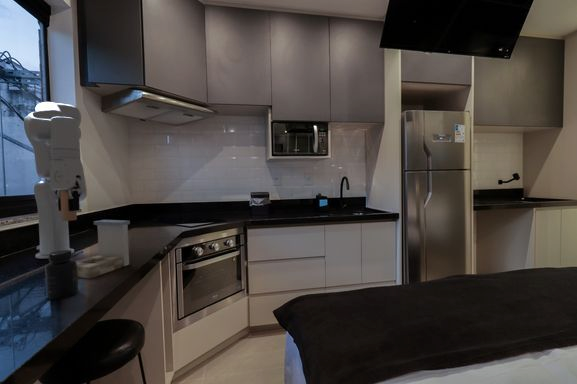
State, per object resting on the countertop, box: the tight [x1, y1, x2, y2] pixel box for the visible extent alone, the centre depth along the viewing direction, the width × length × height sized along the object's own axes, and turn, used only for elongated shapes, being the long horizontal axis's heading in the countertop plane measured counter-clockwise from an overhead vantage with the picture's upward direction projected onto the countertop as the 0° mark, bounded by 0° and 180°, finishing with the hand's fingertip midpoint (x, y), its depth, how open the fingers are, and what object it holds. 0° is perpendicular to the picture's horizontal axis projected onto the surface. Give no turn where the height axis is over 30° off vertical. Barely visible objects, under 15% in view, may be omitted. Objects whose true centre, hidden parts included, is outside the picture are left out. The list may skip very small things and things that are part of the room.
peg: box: [60, 187, 78, 222], centre depth 94 cm, size 4×4×12 cm
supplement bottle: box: [44, 250, 80, 301], centre depth 77 cm, size 7×7×12 cm
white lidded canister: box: [93, 219, 131, 267], centre depth 105 cm, size 12×4×16 cm, turn 74°
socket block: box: [75, 254, 123, 279], centre depth 98 cm, size 12×12×4 cm
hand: (69, 210), depth 94 cm, fingers closed on peg, 4 cm apart
